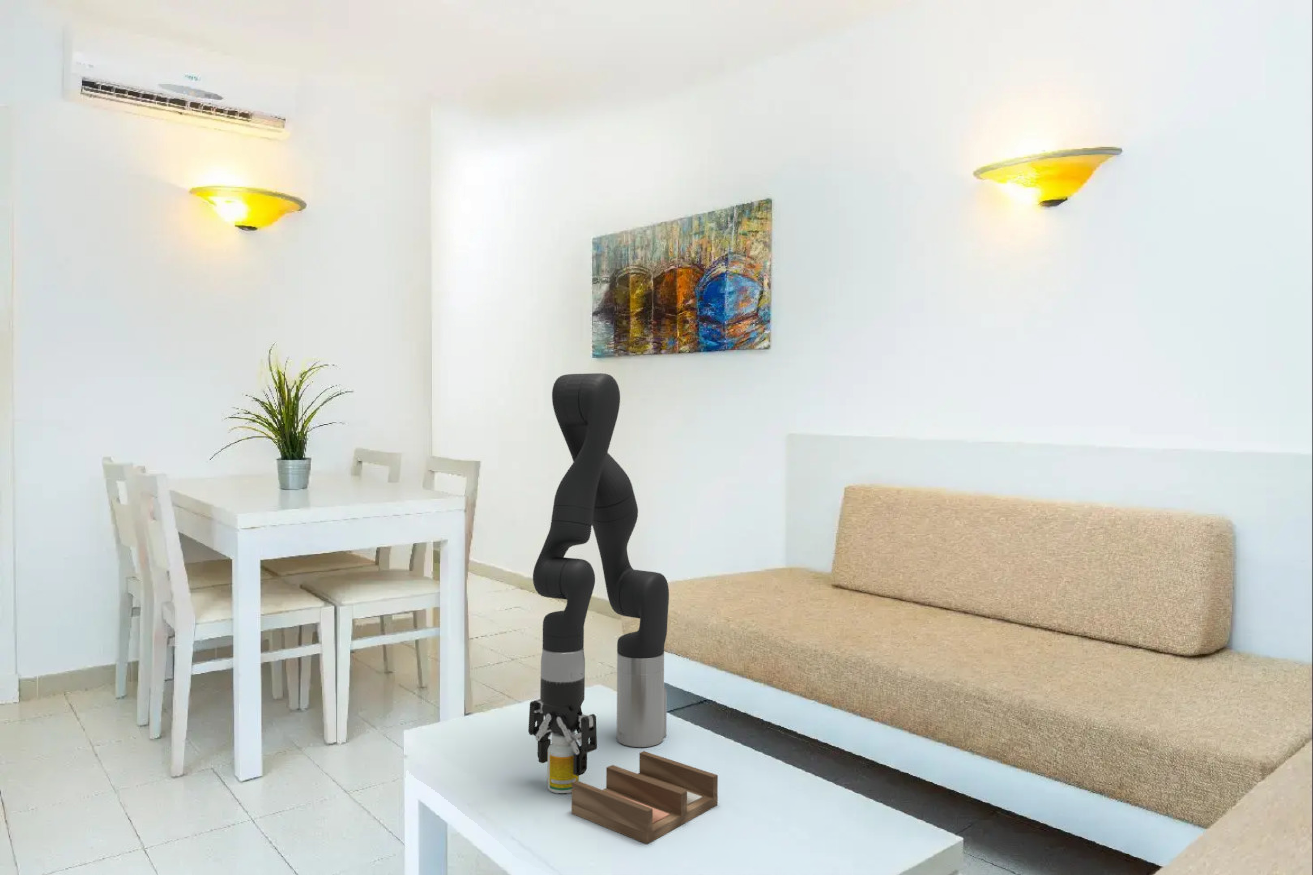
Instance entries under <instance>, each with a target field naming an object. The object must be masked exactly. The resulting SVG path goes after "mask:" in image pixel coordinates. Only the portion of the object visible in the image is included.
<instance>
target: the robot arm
mask: <svg viewBox="0 0 1313 875" xmlns="http://www.w3.org/2000/svg"><path fill="white" fill-rule="evenodd" d="M551 400H552V407H553V408H552V409H553V412H554V416H555V418H556V421H557V423H558V426H559V428H560V431H561V434H562V435H563V439H564V440H565V443H566V445H567V448H568V451H569V453H570V455H571V458H572V463H571V466H570V467H568V470H567V471H566V472H565V474H564V476H563V477H562V479H561V480H560V482H559V484H558V487H557V489H556V492H555V494H554V499H553V507H552V514H551V521H550V526H549V527H550V528H549V531H548V533H547V535H546V537H545V541H544V544H543V545H542V548H541V551H540V553H539V555H538V558H537V559H536V561H535V565H534V567H533V572H532V582H533V586H534V589H535V591H536V592H537V594H538V595H540V596H541V597H543V598H551V599H558V600H565V601H566V604H565V607H564V610H558V611H552V612H549V613H547V614H546V615H545V616H544V618H543V619H542V620H543V621H542V651H541V658H540V688H539V689H540V694H539V696H540V697H539V698H538V699H535V700H533V701H530V703H529V716H528V734H529V735H530V736H534V738H535V740H536V741H537V752H536V754H537V755H536V756H537V758H538V762H539V763H541V764H544V763H548V747H549V746H550V745H551V744H552V738H551V739H550V737H552V733H559V734H560V735H562V736H565V738H566V740H567V742H568V743H570V744H571V746H572V748H573V750H574V752H575V754H574V764H573V774H574V775H576V776H579V777H580V776H581V775H582V776H583V775H584V774H586V771H587V769H588V753H591V752H592V751H596V750H597V748H598V740H597V739H598V737H597V734H598V733H597V716H596V715H595V714H594V713H592V714H583V711H582V705H583V703H584V701H585V693H586V692H585V688H586V687H585V686H586V685H585V683H586V681H585V678H586V676H585V675H586V674H585V673H586V671H585V670H586V659H585V658H586V657H585V650H584V649H585V648H584V643H585V639H584V638H585V622H586V617H587V615H588V609H589V607H590V602H591V599H592V595H593V592H594V589H595V584H596V573H595V571H594V568H593V566H592V564H591V563H590V562H589V561H587V560H586V559H582V558H575V557H565V555H566V554H567V552H568V550H569V549H570V548H571V547H574V546H580V545H585V544H587V543H588V542H589V540H590V537H591V534H592V529H593V532H594V536H595V540H596V543H597V547H598V548H597V549H598V551H599V556H600V560H601V565H602V571H603V576H604V577H603V578H604V583H605V584H604V585H605V588H606V594H607V600H608V602H609V604H610V606H611V609H612V610H613V612H614V613H616V614H617V615H620V616H622V617H628V618H634V619H639V626H638V630H637V631H636V630H635V631H633V632H632V631H631V632H629V633H625V634H623V635H621V636H620V637H618V639H617V645H616V656H617V657H616V741H617V742H618V743H620V744H621V745H624V746H628V747H632V748H633V747H634V748H647V747H652V746H657V745H658V744H660V743H662V742H663V741H664V738H665V737H667V726H668V725H667V723H668V722H667V719H668V718H667V716H668V714H667V712H668V710H667V705H668V704H667V703H668V702H667V701H668V699H667V698H668V696H667V695H668V692H667V690H668V689H667V688H665V644H666V639H667V634H668V619H669V618H668V616H669V604H670V603H669V602H670V592H669V591H670V590H669V584H668V580H667V578H666V577H665V575H664V574H662V573H660V572H656V571H648V570H642V569H641V570H640V569H635V568H633V566H632V565H631V562H630V560H629V554H628V546H629V541H630V539H631V537H632V534H633V532H634V529H635V527H636V525H637V524H636V523H637V520H638V517H639V508H638V504H637V499H636V496H635V492H634V488H633V487H634V486H633V484H632V482H631V479H630V477H629V475H628V474H627V473H626V471H625V470H624V468H623V467H621V465H620V464H619V463H618V462H617V460H615V458H614V457H613V456H612V455H610V453H609V452H608V451H609V449H610V445H611V442H612V438H613V434H614V431H615V428H616V424H617V420H618V416H619V412H620V406H621V392H620V387H619V385H618V382H617V380H616V379H615V378H614V376H612V375H610V374H608V373H601V372H600V373H568V374H562V375H561V376H558V378H556V380H555V382H554V383H553V386H552V391H551ZM574 732H576V733H575V735H573V734H572V733H574ZM579 744H580V745H579Z"/></svg>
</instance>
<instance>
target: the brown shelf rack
mask: <svg viewBox="0 0 1313 875" xmlns="http://www.w3.org/2000/svg"><path fill="white" fill-rule="evenodd" d="M638 760H639V767H638V770H639V772H638V773H637V772H635V771H631V770H628V769H626V768H622V767H620V766H617V765H613V764H612V765H609V766H607V767H606V771H605V773H606V776H605V777H606V782H605V783H606V784H605V786H606V788H603V789H601V788H598V787H596V786H594V785H593V786H592V785H590V784H587V783H585V782H583V781H580V780H579V781H575V782H572V792H571V805H570V806H571V810H570V811H571V812H570V813H571V815H575V816H577V817H580V818H582V819H584V820H587V821H590V822H591V823H594V824H597V825H599V826H602V827H604V828H606V829H609V830H611V831H614V832H616V833H619V834H622V835H624V836H626V837H629V838H631V839H633V840H635V841H637V842H638V841H639V842H641V843H643V844H645V845H648V844H650V843H652V842H654V841H655V840H657V839H658V838H661V837H662V836H664V835H666V834H668V833H670V832H672V831H673V830H675V829H676V828H678V827H680V826H683V825H684V824H686V823H687V822H689V821H691V820H694V819H695V818H697V817H698V816H700V815H702V814H704V813H706V812H707V811H709V810H711V809H713V808H715V807H716V806H717V805H719V804H718V801H719V800H718V798H719V797H718V793H719V792H718V784H719V783H718V781H719V779H718V778H719V777H718V774H715V773H712V772H710V771H706V770H703V769H701V768H696V767H694V766H690V765H688V764H685V763H682V762H679V761H675V760H673V759H669V758H667V757H664V756H660V755H657V754H653V753H651V752H648V751H645V750H644V751H641V752H639V759H638Z"/></svg>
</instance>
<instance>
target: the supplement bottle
mask: <svg viewBox="0 0 1313 875" xmlns="http://www.w3.org/2000/svg"><path fill="white" fill-rule="evenodd" d="M575 732H576V731H575ZM575 732H574V733H572V734H573V735H575V734H576V733H575ZM574 754H575V752H574V750H573V748H572V746H571V744H570V743H568V742H567V740H566V738H565V736H562V735H560V734H559V733H552V734H551V745H550V746H549V747H548V762H547V769H546V770H547V773H546V775H547V776H546V778H547V779H546V780H547V781H546V784H547V786H546V787H547V789H548V790H549V791H550V792H551V793H554V794H558V793H567V794H570V793H571V794H572V782H575V781H580V778H579V777H580V775H579V776H576V775H574V774H573V764H574Z"/></svg>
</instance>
